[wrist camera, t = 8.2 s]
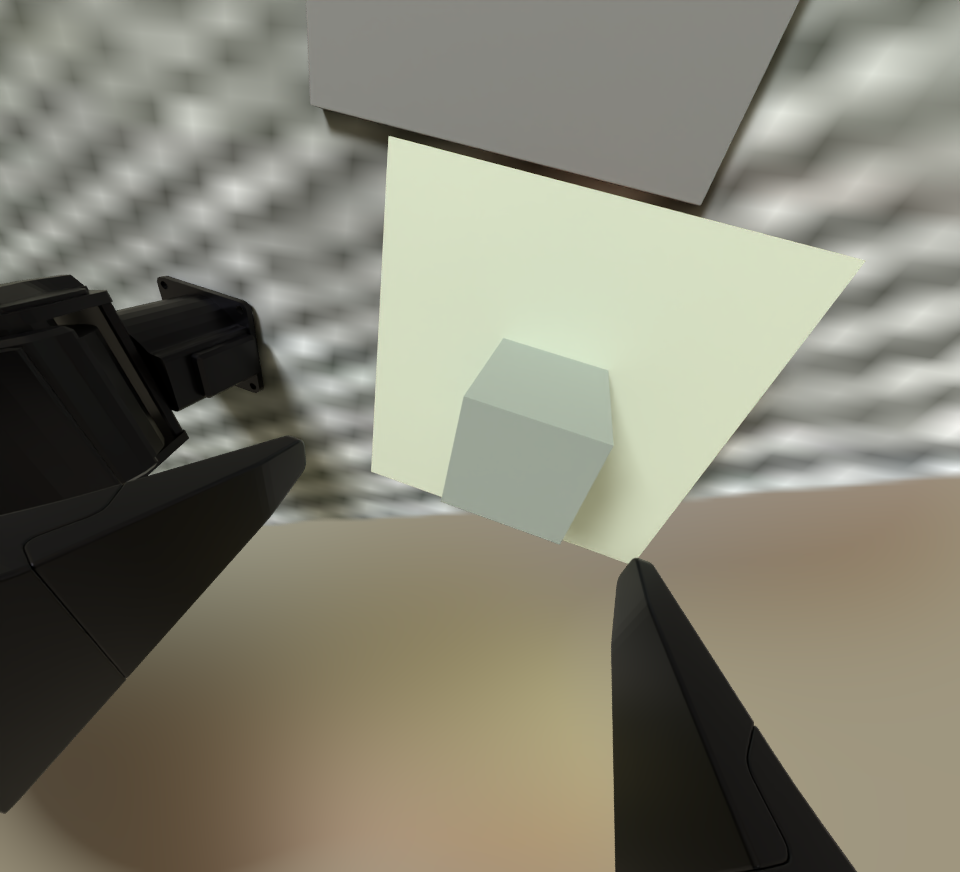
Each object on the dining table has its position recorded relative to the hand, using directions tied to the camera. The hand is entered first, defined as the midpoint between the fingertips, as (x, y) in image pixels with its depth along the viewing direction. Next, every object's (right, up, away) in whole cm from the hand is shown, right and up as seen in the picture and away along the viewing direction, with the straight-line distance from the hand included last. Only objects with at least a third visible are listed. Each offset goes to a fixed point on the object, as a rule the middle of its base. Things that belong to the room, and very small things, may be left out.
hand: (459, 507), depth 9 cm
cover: (+3, +4, +6) cm, 8 cm away
